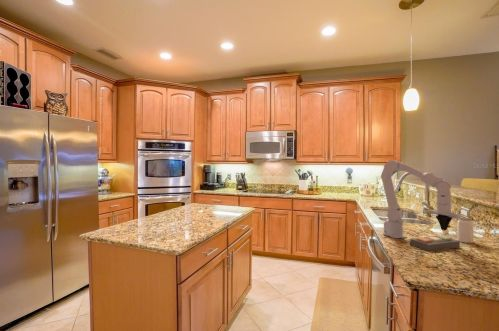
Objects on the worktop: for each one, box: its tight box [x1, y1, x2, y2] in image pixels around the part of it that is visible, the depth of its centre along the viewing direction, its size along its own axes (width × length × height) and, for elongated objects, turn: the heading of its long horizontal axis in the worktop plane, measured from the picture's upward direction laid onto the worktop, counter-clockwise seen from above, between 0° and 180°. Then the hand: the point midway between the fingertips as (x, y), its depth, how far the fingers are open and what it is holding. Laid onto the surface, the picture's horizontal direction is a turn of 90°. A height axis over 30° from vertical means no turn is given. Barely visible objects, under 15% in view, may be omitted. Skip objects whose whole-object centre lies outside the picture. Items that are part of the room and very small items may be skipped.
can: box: [456, 217, 474, 244], centre depth 132 cm, size 6×6×12 cm
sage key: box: [436, 235, 453, 241], centre depth 126 cm, size 4×4×2 cm
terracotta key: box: [417, 237, 432, 243], centre depth 123 cm, size 4×4×2 cm
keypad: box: [409, 235, 461, 252], centre depth 125 cm, size 10×20×3 cm, turn 105°
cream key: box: [426, 236, 442, 242], centre depth 125 cm, size 4×4×2 cm
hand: (444, 229), depth 126 cm, fingers closed
